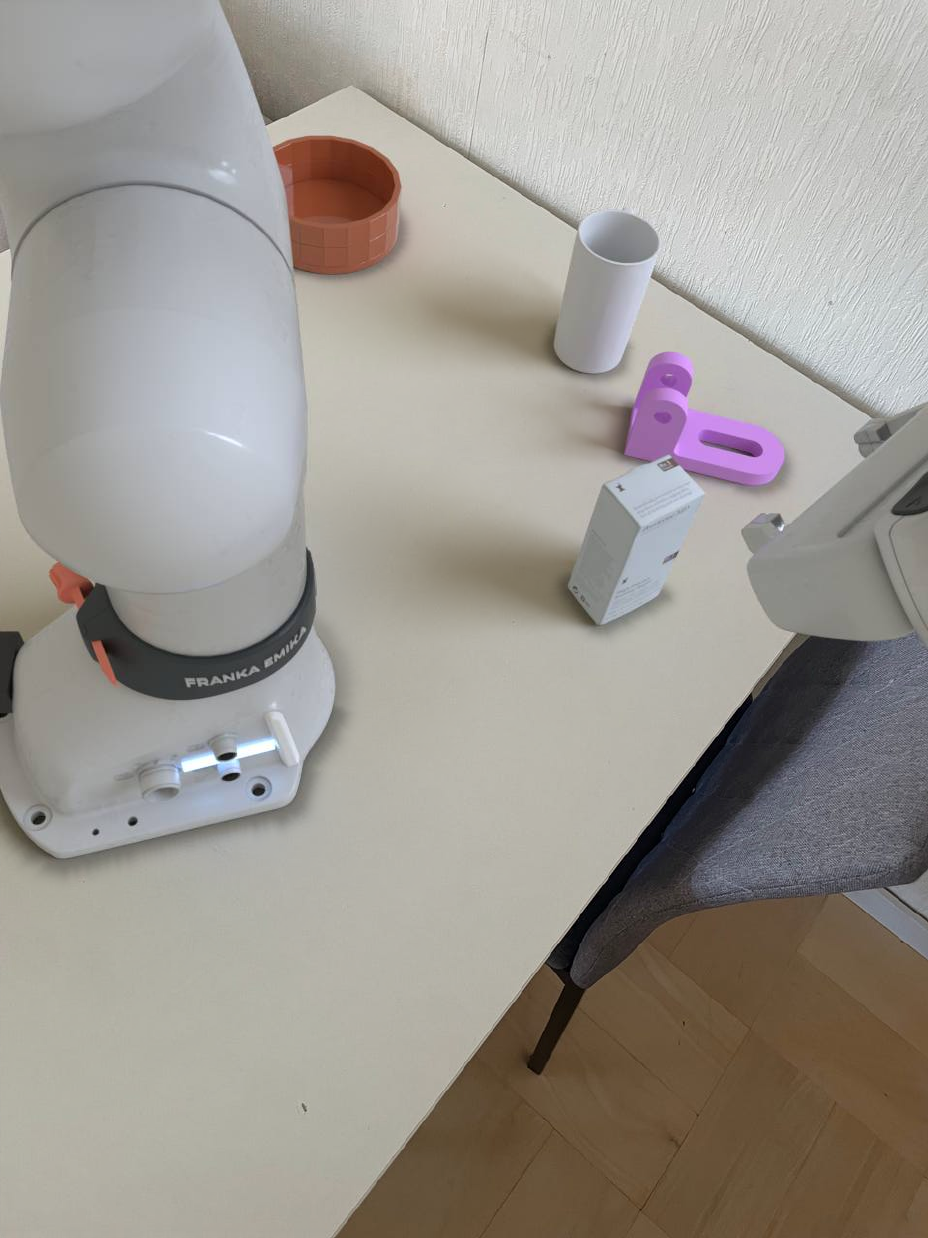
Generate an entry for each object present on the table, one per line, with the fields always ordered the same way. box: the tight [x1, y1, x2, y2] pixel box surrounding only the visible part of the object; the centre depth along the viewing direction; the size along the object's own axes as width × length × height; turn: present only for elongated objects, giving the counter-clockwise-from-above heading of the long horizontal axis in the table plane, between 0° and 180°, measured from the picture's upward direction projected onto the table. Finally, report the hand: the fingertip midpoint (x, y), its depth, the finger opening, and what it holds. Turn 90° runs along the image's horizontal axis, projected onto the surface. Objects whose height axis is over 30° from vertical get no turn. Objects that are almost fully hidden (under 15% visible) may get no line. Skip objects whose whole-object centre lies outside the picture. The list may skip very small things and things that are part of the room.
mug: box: [553, 206, 662, 375], centre depth 87 cm, size 10×7×12 cm, turn 164°
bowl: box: [272, 135, 403, 275], centre depth 94 cm, size 13×13×5 cm
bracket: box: [623, 351, 786, 486], centre depth 83 cm, size 13×6×7 cm, turn 77°
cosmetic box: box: [567, 455, 706, 626], centre depth 72 cm, size 6×4×12 cm
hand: (810, 485), depth 56 cm, fingers open, 8 cm apart
